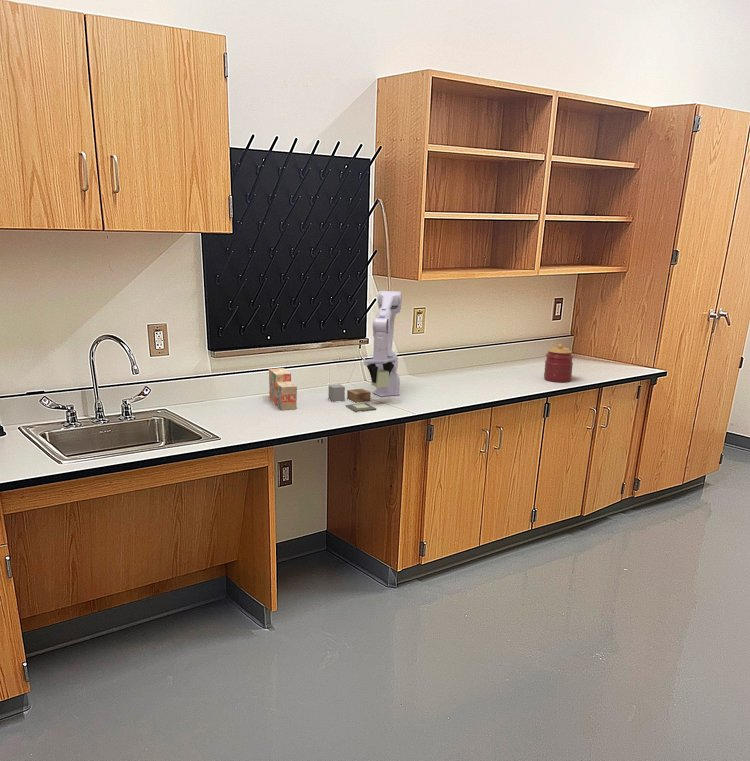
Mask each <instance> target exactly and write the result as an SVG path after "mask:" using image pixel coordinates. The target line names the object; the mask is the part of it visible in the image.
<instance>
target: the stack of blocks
mask: <svg viewBox="0 0 750 761" xmlns="http://www.w3.org/2000/svg"><path fill="white" fill-rule="evenodd" d="M268 383H269V391H268V392H269V399H270V400H271V401H272V403H274V404H275V405H276V406H277V407H278V408H279V409H280V411H289V410H288V409H290V410H297V406H298V405H297V398H298V395H297V394H298V386H297V385H296V384H295V383H294V382H293V381H292V373H291V372H289V371H288V370H287V369H285V367H280V368H279V367H276V368H268Z"/></svg>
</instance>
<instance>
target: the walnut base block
mask: <svg viewBox="0 0 750 761" xmlns="http://www.w3.org/2000/svg"><path fill="white" fill-rule="evenodd" d="M346 391H347V394H346V399H347V400H348V399H349V400H348V401H350V400H351V402H352V401H353V402H352V403H354V402H355V403H354V404H358V403H357V402H359V403H367V402H371V395H372V394H371V392H372V391H369V390H366V389H364V388H356V389H355V388H354V389H348V390H346Z"/></svg>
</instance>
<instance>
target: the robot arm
mask: <svg viewBox="0 0 750 761" xmlns="http://www.w3.org/2000/svg"><path fill="white" fill-rule="evenodd" d="M402 299H403V293H402V292H401V291H400V290H399V291H392V290H389V291H388V290H379V291H378V292H377V306H378V310H377V313H376V316H375V318H373V320H372V337H373V357H372V358H367V359H364V360H363V366H366V368H367V370H368V372H369V375H370V379H371V382H373V383H376V376H377V370H380V369H383V370H386V371H389V386H387V387H379V388H378V387H375V389H376V390H373V391H372V393H373V394H374V395H377V396H379V397H389V396H398V395H401V393H400V382H401V379H400V376H399V374H398V373H397V372H398V363H399V362H398V355H397V354H396V353H395V352H394V351H393V340H394V329H395V319H396V316H397V314H399V313H401V309H402Z"/></svg>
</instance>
